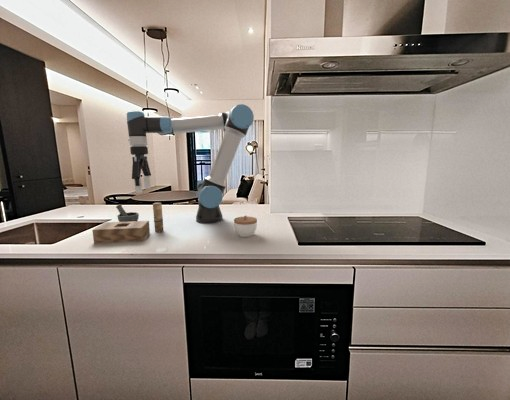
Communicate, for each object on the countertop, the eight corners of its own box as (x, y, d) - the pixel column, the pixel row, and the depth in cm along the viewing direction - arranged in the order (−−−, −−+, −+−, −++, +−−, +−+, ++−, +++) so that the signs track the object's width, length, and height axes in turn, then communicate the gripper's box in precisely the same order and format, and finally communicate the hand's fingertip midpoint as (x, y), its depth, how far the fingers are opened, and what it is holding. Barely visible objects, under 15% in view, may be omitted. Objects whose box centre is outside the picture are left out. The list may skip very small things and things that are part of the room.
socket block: (149, 232, 124) (148, 220, 123) (142, 240, 112) (141, 227, 111) (106, 234, 121) (104, 222, 120) (94, 243, 110) (92, 229, 109)
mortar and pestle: (143, 225, 137) (141, 203, 135) (131, 230, 128) (129, 206, 126) (124, 224, 139) (122, 202, 137) (112, 229, 130) (109, 206, 128)
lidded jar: (261, 234, 120) (261, 215, 118) (245, 240, 112) (245, 220, 110) (245, 230, 127) (245, 212, 125) (229, 235, 119) (229, 216, 117)
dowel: (164, 229, 129) (162, 202, 126) (162, 232, 125) (160, 204, 122) (155, 229, 128) (153, 202, 126) (153, 232, 124) (151, 204, 122)
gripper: (139, 146, 131) (143, 187, 135) (119, 145, 107) (125, 195, 111) (154, 146, 132) (158, 187, 136) (138, 145, 108) (143, 194, 111)
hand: (143, 190), depth 123 cm, fingers open, 13 cm apart
